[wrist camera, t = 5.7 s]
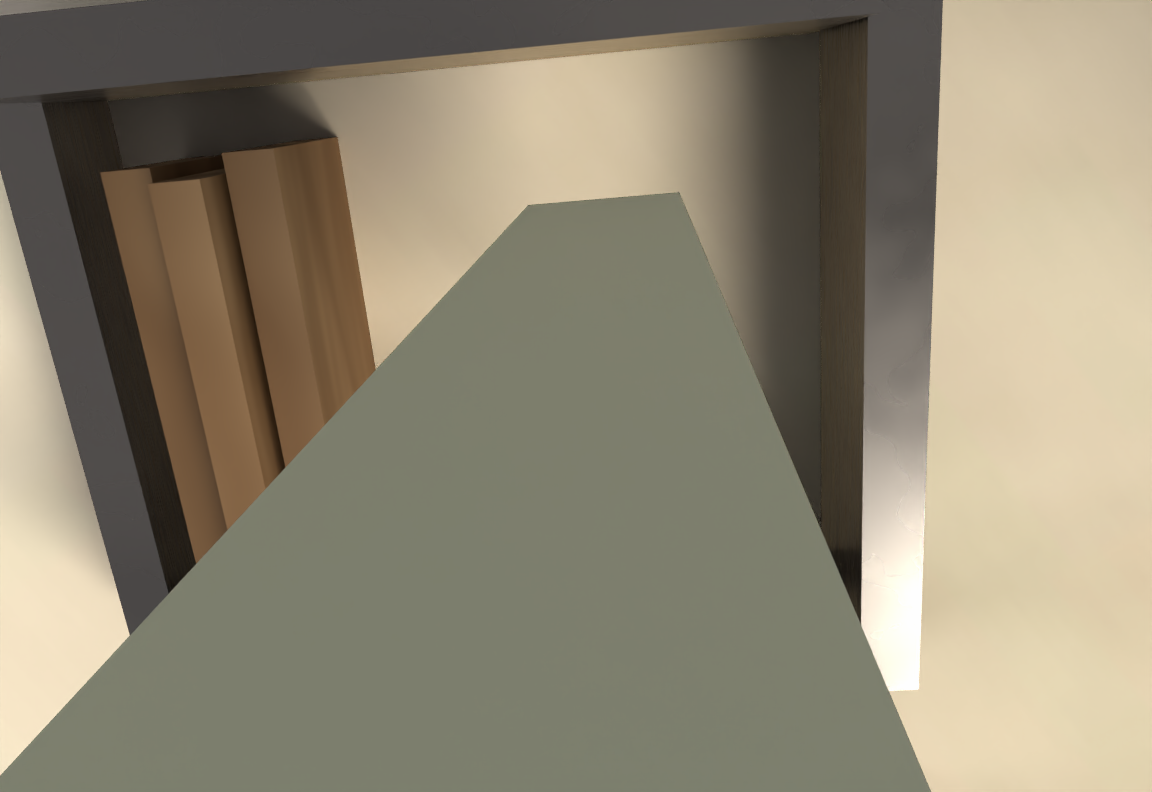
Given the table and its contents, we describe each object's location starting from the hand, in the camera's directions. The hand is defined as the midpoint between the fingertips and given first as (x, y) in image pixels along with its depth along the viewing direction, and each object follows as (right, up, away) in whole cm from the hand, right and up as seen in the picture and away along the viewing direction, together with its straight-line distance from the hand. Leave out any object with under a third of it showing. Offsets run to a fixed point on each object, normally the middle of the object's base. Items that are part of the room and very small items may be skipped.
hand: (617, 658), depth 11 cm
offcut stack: (-9, +5, +16) cm, 19 cm away
